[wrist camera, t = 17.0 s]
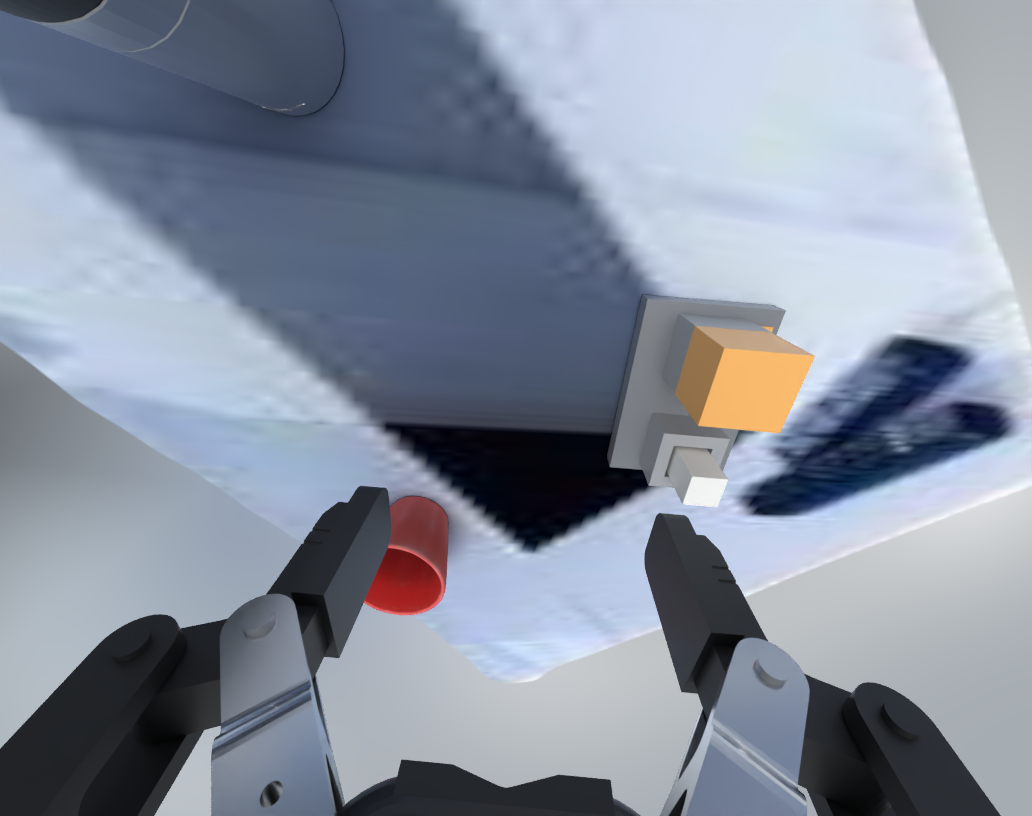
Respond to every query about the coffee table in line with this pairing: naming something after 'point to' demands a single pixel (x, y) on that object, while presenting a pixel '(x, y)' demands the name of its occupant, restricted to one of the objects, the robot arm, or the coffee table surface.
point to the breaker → (696, 476)
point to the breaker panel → (672, 382)
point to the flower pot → (412, 559)
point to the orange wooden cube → (741, 378)
